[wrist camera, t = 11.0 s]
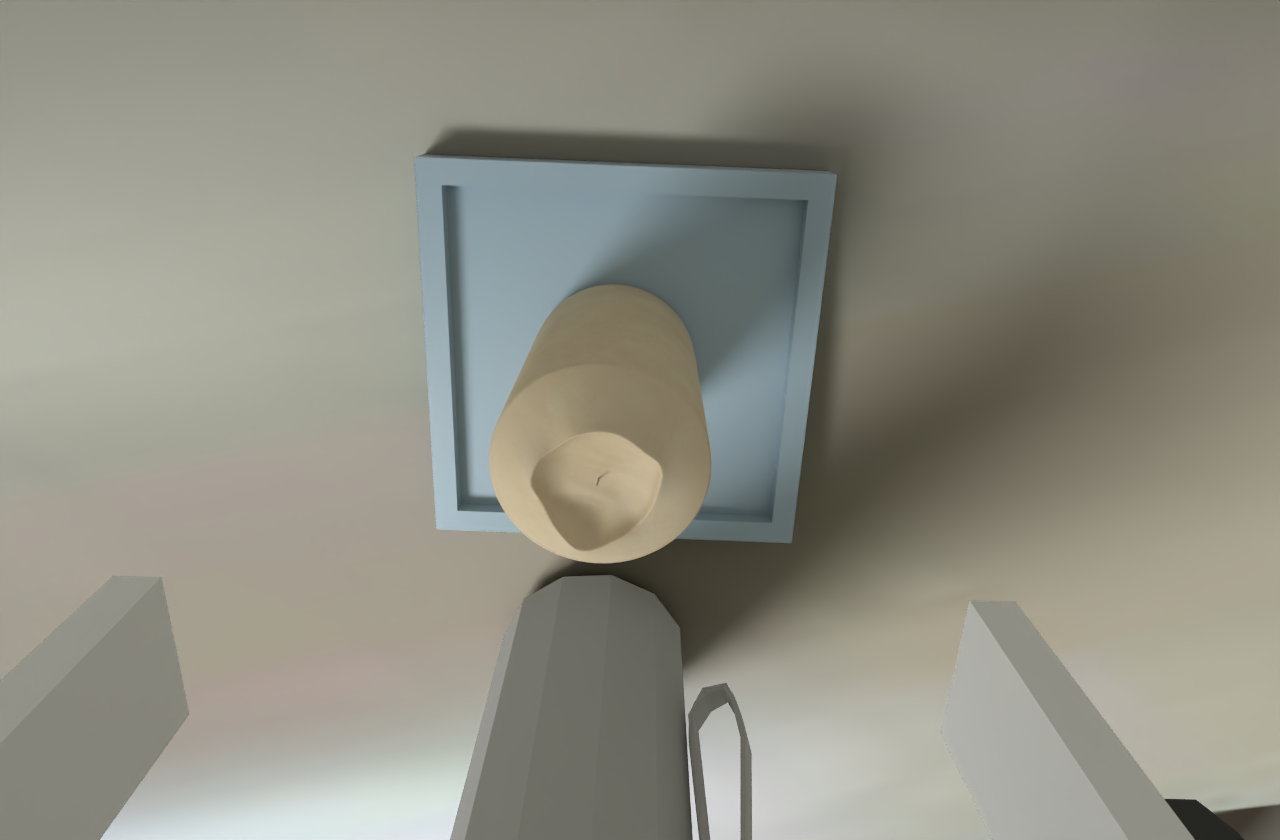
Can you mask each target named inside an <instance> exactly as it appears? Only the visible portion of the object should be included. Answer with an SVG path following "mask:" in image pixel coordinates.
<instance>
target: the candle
mask: <svg viewBox="0 0 1280 840" xmlns="http://www.w3.org/2000/svg"><path fill="white" fill-rule="evenodd" d="M711 468H712V461H711V450H710V443H709V437H708V431H707V425H706V418H705V412H704V406H703V400H702V394H701V388H700V382H699V376H698V370H697V363H696V358H695V353H694V349H693V345H692V341H691V338H690V336H689V333H688V331H687V329H686V327H685V325H684V323H683V322H682V320H681V319H680V318H679V316H678V315H677V314H676V313H675V312H674V311H673V310H672V309H671V308H670V307H669V306H668V305H667V304H666V303H665V302H664V301H662V300H661V299H660V298H658V297H656V296H655V295H653V294H651V293H649V292H647V291H645V290H642V289H639V288H636V287H633V286H627V285H621V284H607V285H598V286H594V287H590V288H587V289H584V290H582V291H579V292H577V293H576V294H574V295H572V296H570V297H568V298H567V299H566V300H564V301H563V302H562V303H560V304H559V305H558V306H557V307H556V308H555V309H554V310H553V311H552V312H551V313H550V315H549V316H548V317H547V318H546V320H545V322H544V323H543V325H542V327H541V329H540V330H539V332H538V334H537V336H536V338H535V340H534V343H533V345H532V347H531V349H530V351H529V354H528V356H527V358H526V360H525V362H524V364H523V367H522V369H521V371H520V373H519V375H518V378H517V380H516V382H515V384H514V386H513V388H512V391H511V393H510V395H509V397H508V399H507V401H506V404H505V406H504V408H503V410H502V412H501V415H500V417H499V419H498V422H497V424H496V427H495V429H494V432H493V435H492V440H491V444H490V452H489V469H490V476H491V481H492V485H493V488H494V491H495V494H496V497H497V499H498V501H499V503H500V505H501V507H502V509H503V510H504V511H505V513H506V514H507V516H508V517H509V519H510V520H511V521H512V522H513V523H514V525H515V526H516V527H517V528H518V529H519V530H520V531H521V532H522V533H523V534H525V535H526V536H527V537H528V538H529V539H531V540H532V541H533V542H535V543H536V544H538V545H539V546H541V547H543V548H545V549H547V550H549V551H551V552H552V553H555V554H558V555H560V556H563V557H565V558H569V559H573V560H577V561H582V562H589V563H616V562H624V561H629V560H633V559H637V558H640V557H643V556H646V555H648V554H650V553H653V552H655V551H657V550H659V549H661V548H662V547H664V546H665V545H667V544H669V543H670V542H672V541H673V540H674V539H675V538H676V537H678V536H679V535H680V534H681V533H682V532H683V531H684V530H685V529H686V528H687V527H688V526H689V525H690V524H691V522H692V521H693V519H694V518H695V517H696V515H697V514H698V512H699V510H700V508H701V506H702V505H703V503H704V500H705V497H706V495H707V492H708V489H709V484H710V479H711Z"/></svg>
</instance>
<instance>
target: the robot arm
mask: <svg viewBox="0 0 1280 840" xmlns="http://www.w3.org/2000/svg"><path fill="white" fill-rule="evenodd" d="M188 715H189V709H188V705H187V700H186V695H185V690H184V685H183V680H182V675H181V670H180V665H179V660H178V655H177V651H176V646H175V641H174V636H173V631H172V626H171V621H170V616H169V611H168V606H167V601H166V597H165V592H164V587H163V582H162V577H136V576H113V577H112V578H110V579H109V580H108V581H107V582H106V583H105V584H104V585H103V586H102V587H101V588H100V589H99V590H98V591H96V592H95V593H94V594H93V595H92V596H91V597H90V598H89V599H88V600H87V601H86V602H85V603H84V604H83V605H81V606H80V607H79V608H78V609H77V610H76V611H75V612H74V613H73V614H72V615H71V616H70V617H69V618H67V619H66V620H65V621H64V622H63V623H62V624H61V625H60V626H59V627H58V628H57V629H56V630H55V631H53V632H52V633H51V634H50V635H49V636H48V637H47V638H46V639H45V640H44V641H43V642H42V643H41V644H40V645H38V646H37V647H36V648H35V649H34V650H33V651H32V652H31V653H30V654H29V655H28V656H27V657H26V658H24V659H23V660H22V661H21V662H20V663H19V664H18V665H17V666H16V667H15V668H14V669H13V670H12V671H11V672H9V673H8V674H7V675H6V676H5V677H4V678H3V679H2V680H1V681H0V840H100V839H101V837H102V836H103V834H104V833H105V832H106V830H107V829H108V827H109V826H110V825H111V823H112V822H113V820H114V819H115V818H116V816H117V815H118V813H119V812H120V810H121V809H122V808H123V806H124V805H125V803H126V802H127V801H128V799H129V798H130V796H131V795H132V794H133V792H134V791H135V789H136V788H137V787H138V785H139V784H140V782H141V781H142V780H143V778H144V777H145V775H146V774H147V773H148V771H149V770H150V768H151V767H152V766H153V764H154V763H155V761H156V760H157V759H158V757H159V756H160V754H161V753H162V752H163V750H164V749H165V747H166V746H167V745H168V743H169V742H170V740H171V739H172V738H173V736H174V735H175V733H176V732H177V731H178V729H179V728H180V726H181V725H182V724H183V722H184V721H185V719H186V718H187V717H188ZM941 735H942V737H943V739H944V741H945V743H946V745H947V747H948V749H949V751H950V753H951V756H952V758H953V760H954V762H955V764H956V766H957V768H958V770H959V772H960V774H961V776H962V778H963V780H964V783H965V785H966V787H967V789H968V791H969V793H970V795H971V797H972V799H973V801H974V803H975V805H976V808H977V810H978V812H979V814H980V816H981V818H982V820H983V822H984V824H985V826H986V828H987V830H988V832H989V835H990V837H991V839H992V840H1244V839H1243V838H1242V837H1241V836H1240V834H1239V833H1238V832H1236V831H1235V830H1234V829H1232V828H1231V827H1230V826H1229V825H1227V824H1226V823H1225V822H1224V821H1222V820H1221V819H1220V818H1219V817H1217V816H1216V815H1215V814H1213V813H1212V812H1211V811H1210V810H1208V809H1207V808H1206V807H1205V806H1203V805H1202V804H1201V803H1199V802H1198V801H1197V800H1186V799H1164V798H1163V797H1162V795H1161V794H1160V793H1159V791H1158V790H1157V789H1156V787H1155V786H1154V785H1153V783H1152V782H1151V781H1150V779H1149V778H1148V777H1147V776H1146V774H1145V773H1144V772H1143V770H1142V769H1141V768H1140V766H1139V765H1138V764H1137V762H1136V761H1135V760H1134V758H1133V757H1132V756H1131V754H1130V753H1129V752H1128V750H1127V749H1126V748H1125V746H1124V745H1123V744H1122V742H1121V741H1120V740H1119V738H1118V737H1117V736H1116V734H1115V733H1114V732H1113V730H1112V729H1111V728H1110V726H1109V725H1108V724H1107V722H1106V721H1105V720H1104V718H1103V717H1102V716H1101V714H1100V713H1099V712H1098V710H1097V709H1096V708H1095V706H1094V705H1093V704H1092V702H1091V701H1090V700H1089V698H1088V697H1087V696H1086V694H1085V693H1084V692H1083V690H1082V689H1081V688H1080V686H1079V685H1078V684H1077V683H1076V681H1075V680H1074V679H1073V677H1072V676H1071V675H1070V673H1069V672H1068V671H1067V669H1066V668H1065V667H1064V665H1063V664H1062V663H1061V661H1060V660H1059V659H1058V657H1057V656H1056V655H1055V653H1054V652H1053V651H1052V649H1051V648H1050V647H1049V645H1048V644H1047V643H1046V641H1045V640H1044V639H1043V637H1042V636H1041V635H1040V633H1039V632H1038V631H1037V629H1036V628H1035V627H1034V625H1033V624H1032V623H1031V621H1030V620H1029V619H1028V617H1027V616H1026V615H1025V613H1024V612H1023V611H1022V609H1021V608H1020V607H1019V605H1018V604H1017V603H1016V602H1007V601H972V600H970V601H969V606H968V610H967V615H966V619H965V624H964V628H963V633H962V637H961V642H960V646H959V651H958V656H957V660H956V665H955V669H954V674H953V678H952V683H951V687H950V692H949V696H948V701H947V705H946V710H945V715H944V719H943V724H942V728H941Z"/></svg>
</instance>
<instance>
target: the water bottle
mask: <svg viewBox="0 0 1280 840" xmlns="http://www.w3.org/2000/svg"><path fill="white" fill-rule="evenodd" d="M727 702H728V703H729V705H730V707H731V708H732V710H733V712H734V714H735V717H736V721H737V725H738V729H739V733H740V737H741V840H752V773H751V749H750V746H749V742H748V738H747V734H746V730H745V726H744V723H743V719H742V716H741V713H740V710H739V707H738V704H737V702H736V700H735V697H734V695H733V693H732V692H731V690H730V689H729V687H728V685H727V683H724V684H719V685H714V686H709V687H705V688H702V690H701V692H700V694H699V696H698V697H697V699H696V701H695V702H694V704H693V707H692V709H691V711H690V713H689V715H688V717H689V747H690V757H691V766H692V776H693V786H694V795H695V804H696V813H697V822H698V831H699V840H710V834H709V825H708V816H707V806H706V797H705V788H704V779H703V770H702V760H701V751H700V742H699V733H698V731H699V729H700V728H701V726H702V725H703V723H704V722H705V720H706V719H707V717H708V716H709V714H710V713H711V711H713V710H714V709H716V708H718V707H720V706H722V705H724V704H725V703H727ZM450 840H692V823H691V806H690V789H689V772H688V755H687V738H686V721H685V704H684V688H683V671H682V654H681V637H680V627H679V626H678V625H677V623H676V622H675V621H674V619H673V618H672V617H671V615H670V614H669V613H668V611H667V610H666V609H665V607H664V606H663V605H662V603H661V602H660V601H659V599H658V598H657V597H656V595H655V594H654V593H651V592H649V591H647V590H644V589H642V588H640V587H638V586H635V585H633V584H631V583H629V582H626V581H624V580H622V579H619V578H617V577H615V576H613V575H596V576H570V577H562V578H560V579H558V580H556V581H554V582H553V583H551V584H549V585H547V586H546V587H544V588H542V589H540V590H539V591H537V592H535V593H533V594H531V595H530V596H528V597H526V598H524V599H523V601H522V603H521V605H520V606H519V608H518V610H517V612H516V614H515V616H514V617H513V619H512V621H511V623H510V625H509V627H508V629H507V630H506V632H505V634H504V638H503V641H502V645H501V649H500V653H499V656H498V660H497V664H496V668H495V672H494V675H493V679H492V683H491V687H490V691H489V694H488V698H487V702H486V706H485V710H484V713H483V717H482V721H481V725H480V728H479V732H478V736H477V740H476V744H475V747H474V751H473V755H472V759H471V763H470V766H469V770H468V774H467V778H466V782H465V785H464V789H463V793H462V797H461V801H460V804H459V808H458V812H457V816H456V819H455V823H454V827H453V831H452V835H451V838H450Z"/></svg>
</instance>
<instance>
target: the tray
mask: <svg viewBox="0 0 1280 840" xmlns="http://www.w3.org/2000/svg"><path fill="white" fill-rule="evenodd" d="M414 164H415V181H416V197H417V214H418V231H419V247H420V264H421V281H422V297H423V314H424V330H425V347H426V364H427V380H428V397H429V414H430V430H431V447H432V464H433V480H434V497H435V514H436V529H440V530H466V531H491V532H517V533H522V532H521V531H520V530H519V529H518V528H517V527H516V526H515V525H514V523H513V522H512V521H511V520H510V519H509V517H508V516H507V514H506V513H505V511H504V510H503V509H502V507H501V505H500V503H499V501H498V499H497V497H496V494H495V491H494V488H493V485H492V481H491V476H490V469H489V452H490V444H491V440H492V435H493V432H494V429H495V427H496V424H497V422H498V419H499V417H500V415H501V412H502V410H503V408H504V406H505V404H506V401H507V399H508V397H509V395H510V393H511V391H512V388H513V386H514V384H515V382H516V380H517V378H518V375H519V373H520V371H521V369H522V367H523V364H524V362H525V360H526V358H527V356H528V354H529V351H530V349H531V347H532V345H533V343H534V340H535V338H536V336H537V334H538V332H539V330H540V329H541V327H542V325H543V323H544V322H545V320H546V318H547V317H548V316H549V315H550V313H551V312H552V311H553V310H554V309H555V308H556V307H557V306H558V305H559V304H560V303H562V302H563V301H564V300H566V299H567V298H568V297H570V296H572V295H574V294H576V293H577V292H579V291H582V290H584V289H587V288H590V287H594V286H598V285H607V284H621V285H627V286H633V287H636V288H639V289H642V290H645V291H647V292H649V293H651V294H653V295H655V296H656V297H658V298H660V299H661V300H662V301H664V302H665V303H666V304H667V305H668V306H669V307H670V308H671V309H672V310H673V311H674V312H675V313H676V314H677V315H678V316H679V318H680V319H681V320H682V322H683V323H684V325H685V327H686V329H687V331H688V333H689V336H690V338H691V341H692V345H693V349H694V353H695V358H696V363H697V370H698V376H699V382H700V388H701V394H702V400H703V406H704V412H705V418H706V425H707V431H708V437H709V443H710V450H711V461H712V468H711V479H710V484H709V489H708V492H707V495H706V497H705V500H704V503H703V505H702V506H701V508H700V510H699V512H698V514H697V515H696V517H695V518H694V519H693V521H692V522H691V524H690V525H689V526H688V527H687V528H686V529H685V530H684V531H683V532H682V533H681V534H680V535H679V536H678V537H676V538H675V539H696V540H722V541H748V542H773V543H792V537H793V529H794V520H795V512H796V504H797V496H798V488H799V480H800V472H801V464H802V456H803V448H804V440H805V432H806V424H807V415H808V407H809V399H810V391H811V383H812V375H813V367H814V359H815V351H816V343H817V335H818V327H819V318H820V310H821V302H822V294H823V286H824V278H825V270H826V262H827V254H828V246H829V238H830V230H831V221H832V213H833V205H834V197H835V189H836V181H837V174H835V173H832V172H830V171H815V170H791V169H767V168H743V167H719V166H695V165H671V164H647V163H623V162H600V161H576V160H552V159H528V158H504V157H480V156H456V155H432V154H423V155H419V156H416V157H414Z"/></svg>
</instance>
